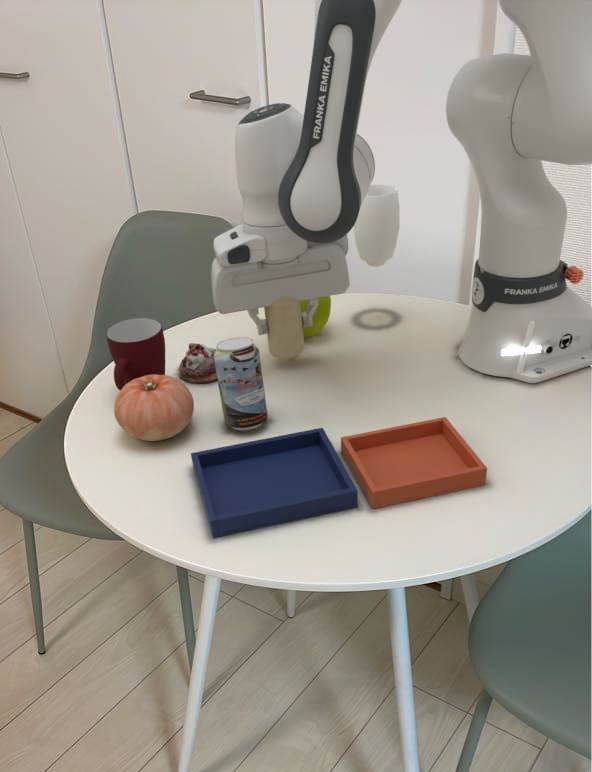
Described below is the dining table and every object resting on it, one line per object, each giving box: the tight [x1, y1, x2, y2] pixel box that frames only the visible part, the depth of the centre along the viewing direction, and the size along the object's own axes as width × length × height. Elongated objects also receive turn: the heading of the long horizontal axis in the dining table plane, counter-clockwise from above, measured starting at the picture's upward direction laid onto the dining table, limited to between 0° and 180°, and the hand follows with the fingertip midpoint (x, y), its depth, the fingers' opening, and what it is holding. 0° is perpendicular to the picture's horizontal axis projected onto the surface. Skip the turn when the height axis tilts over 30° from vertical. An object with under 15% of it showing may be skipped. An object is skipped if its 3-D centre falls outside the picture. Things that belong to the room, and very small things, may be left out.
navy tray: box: [190, 427, 359, 539], centre depth 93 cm, size 18×15×2 cm
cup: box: [353, 183, 401, 268], centre depth 122 cm, size 7×7×21 cm
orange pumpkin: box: [113, 374, 195, 442], centre depth 103 cm, size 11×11×8 cm
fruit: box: [301, 296, 332, 339], centre depth 122 cm, size 9×9×10 cm
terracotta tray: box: [340, 416, 488, 510], centre depth 94 cm, size 14×12×2 cm
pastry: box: [177, 342, 218, 384], centre depth 116 cm, size 8×8×5 cm
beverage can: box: [214, 336, 269, 431], centre depth 102 cm, size 6×7×12 cm
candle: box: [263, 297, 305, 360], centre depth 114 cm, size 6×6×10 cm
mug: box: [105, 317, 166, 392], centre depth 110 cm, size 10×8×10 cm
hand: (284, 329), depth 114 cm, fingers closed on candle, 5 cm apart
